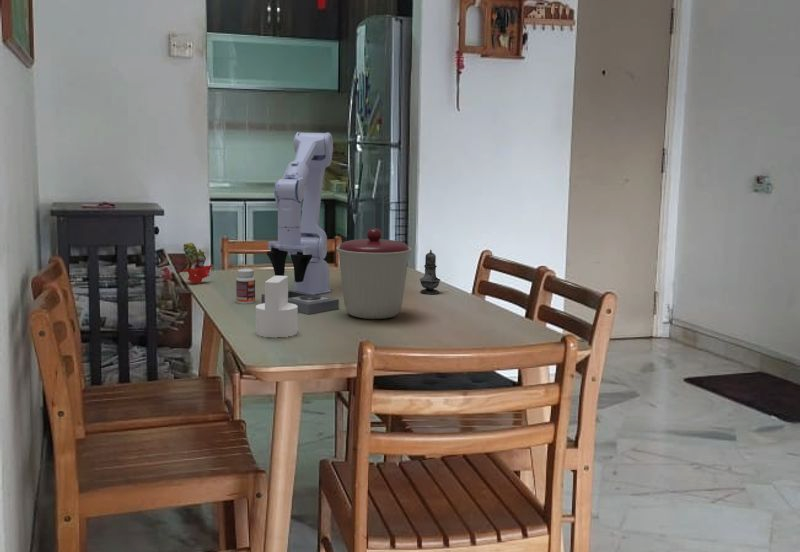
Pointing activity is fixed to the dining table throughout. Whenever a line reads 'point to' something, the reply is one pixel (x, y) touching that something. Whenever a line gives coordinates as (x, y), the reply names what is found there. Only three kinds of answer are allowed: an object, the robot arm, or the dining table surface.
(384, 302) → the canister
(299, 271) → the robot arm
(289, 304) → the base with upright slab
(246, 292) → the pill bottle
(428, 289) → the salt shaker
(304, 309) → the socket strip
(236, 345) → the dining table surface
